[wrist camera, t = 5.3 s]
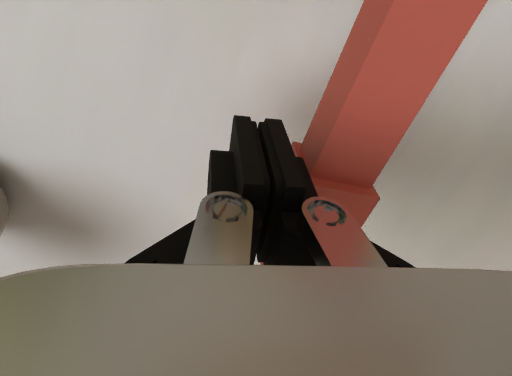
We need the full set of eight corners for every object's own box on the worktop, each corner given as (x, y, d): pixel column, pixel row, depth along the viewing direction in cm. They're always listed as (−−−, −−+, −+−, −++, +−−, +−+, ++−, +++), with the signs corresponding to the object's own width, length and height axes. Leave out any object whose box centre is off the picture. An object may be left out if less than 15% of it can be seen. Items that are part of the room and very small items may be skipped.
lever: (542, -520, 6) (737, -784, 4) (678, -395, 7) (901, -548, 5) (248, 228, 16) (253, 276, 14) (316, 239, 17) (331, 285, 15)
